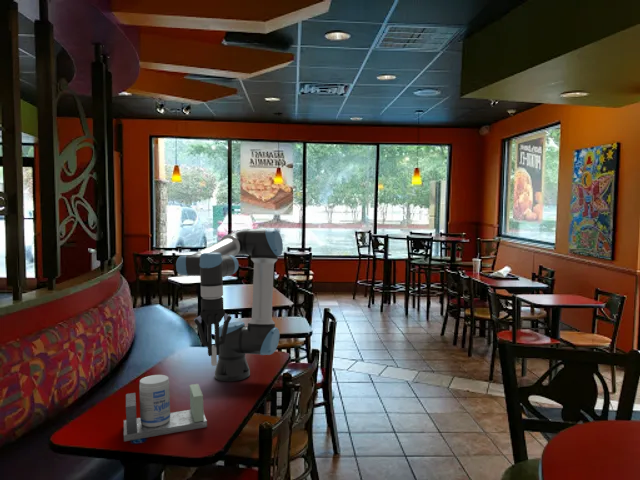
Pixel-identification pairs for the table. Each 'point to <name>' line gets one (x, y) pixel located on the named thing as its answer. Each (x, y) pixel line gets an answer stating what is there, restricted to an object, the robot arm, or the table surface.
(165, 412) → the supplement tub
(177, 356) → the table surface
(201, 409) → the block
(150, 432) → the vise
